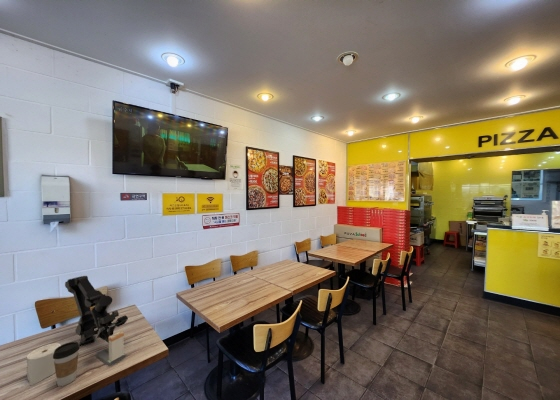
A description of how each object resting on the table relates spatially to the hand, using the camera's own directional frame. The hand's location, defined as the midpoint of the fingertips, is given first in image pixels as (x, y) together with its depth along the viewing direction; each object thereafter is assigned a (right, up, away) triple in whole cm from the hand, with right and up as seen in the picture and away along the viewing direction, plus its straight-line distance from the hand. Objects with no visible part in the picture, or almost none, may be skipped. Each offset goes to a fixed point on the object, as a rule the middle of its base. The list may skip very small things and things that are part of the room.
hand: (111, 343), depth 109 cm
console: (-1, -7, 0) cm, 7 cm away
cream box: (+4, -5, -2) cm, 7 cm away
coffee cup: (-9, -7, -14) cm, 18 cm away
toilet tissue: (-23, -8, -9) cm, 26 cm away
